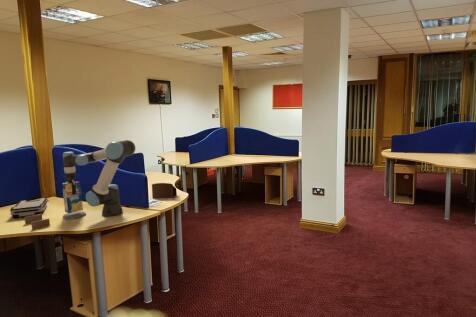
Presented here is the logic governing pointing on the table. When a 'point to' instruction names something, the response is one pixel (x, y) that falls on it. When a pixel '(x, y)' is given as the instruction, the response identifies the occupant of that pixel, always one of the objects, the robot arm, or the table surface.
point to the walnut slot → (37, 221)
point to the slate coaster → (74, 215)
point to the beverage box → (72, 197)
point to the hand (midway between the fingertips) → (73, 202)
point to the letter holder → (163, 190)
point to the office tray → (29, 208)
